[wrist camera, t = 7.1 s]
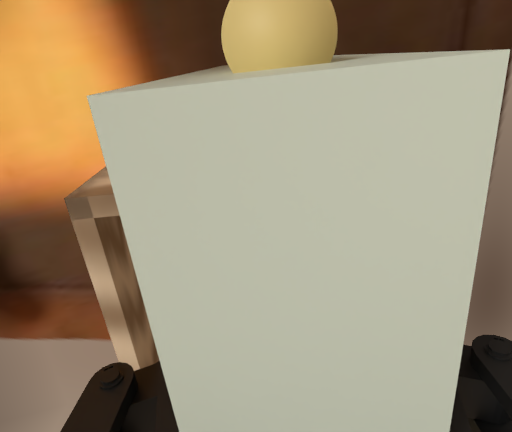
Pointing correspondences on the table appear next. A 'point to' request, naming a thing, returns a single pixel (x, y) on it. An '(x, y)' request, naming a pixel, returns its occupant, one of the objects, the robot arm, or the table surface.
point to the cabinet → (112, 270)
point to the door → (306, 223)
